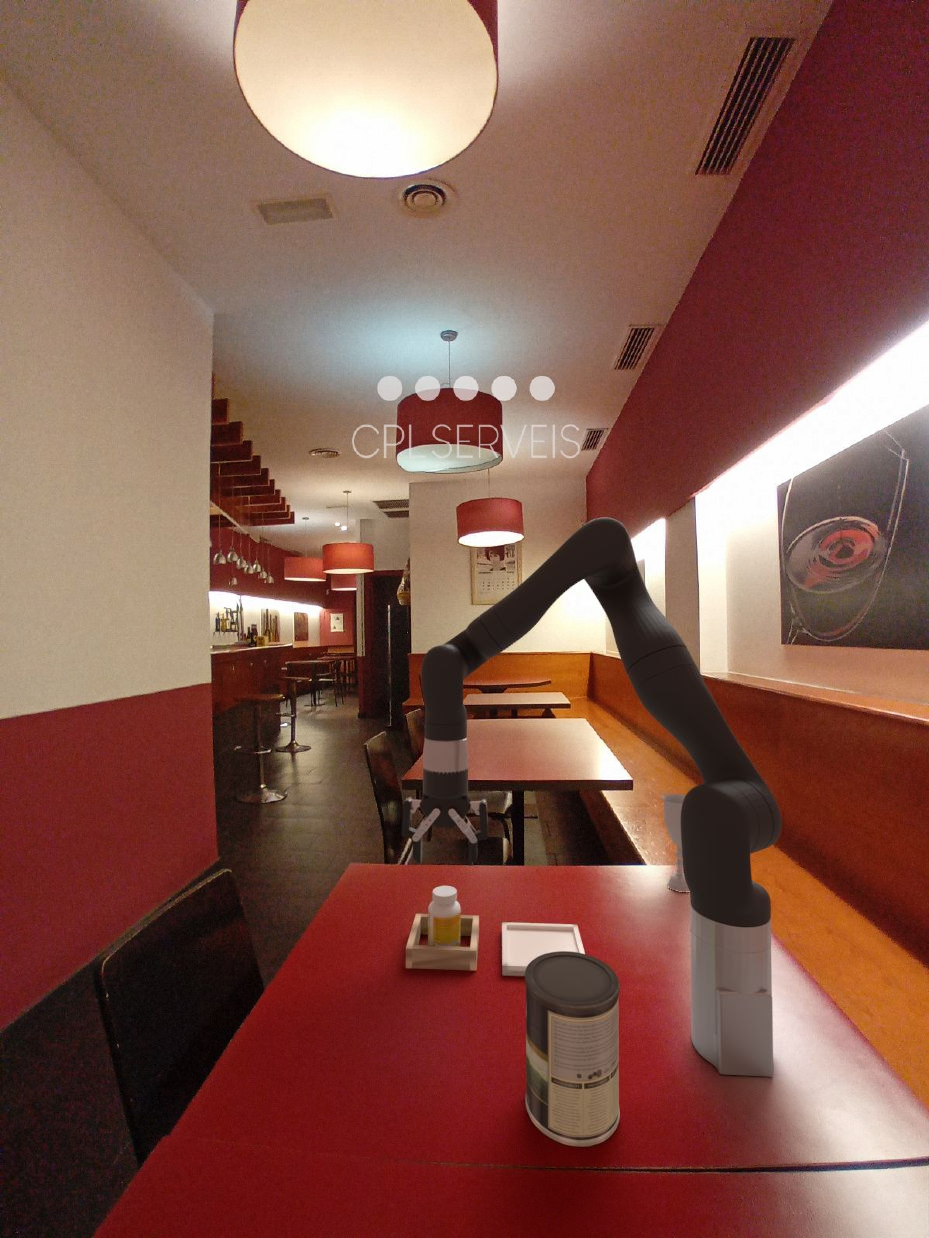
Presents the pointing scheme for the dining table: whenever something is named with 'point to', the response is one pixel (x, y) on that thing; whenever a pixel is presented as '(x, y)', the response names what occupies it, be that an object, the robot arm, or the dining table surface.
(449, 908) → the supplement bottle
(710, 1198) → the dining table surface
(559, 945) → the ceramic tray
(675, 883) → the chalice
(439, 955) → the oak holder
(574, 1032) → the coffee can
